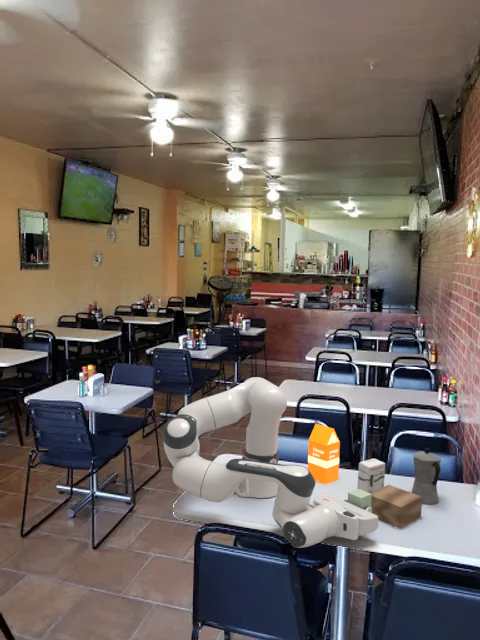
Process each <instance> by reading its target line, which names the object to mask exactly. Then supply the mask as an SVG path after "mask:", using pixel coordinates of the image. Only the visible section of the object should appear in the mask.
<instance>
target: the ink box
mask: <svg viewBox="0 0 480 640" xmlns="http://www.w3.org/2000/svg"><path fill="white" fill-rule="evenodd" d="M357 471H358V472H357V473H358V474H357V486H356V487H357V488H356V489H361V490H363V491H365V492H368V493H371V492H373V491H375V490H378V489H380V488H382V487H384V486H385V478H386V477H385V473H386V462H384V461H381V460H379V459H377V458H370V459H366V460H363V461H360V462H359V463H358V470H357Z"/></svg>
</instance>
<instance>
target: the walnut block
mask: <svg viewBox="0 0 480 640" xmlns="http://www.w3.org/2000/svg"><path fill="white" fill-rule="evenodd" d="M370 494H372V500H371V507H372V512H371V513H373V514H375V515H377V516H378V521H380V522H383V523H385V524H388V525H390V526H392V527H395V528H396V527H397V529H399V530H401V529H403V528H404V526H405V527H407V526H408V524H409V525H410V524H412V523H414V522H416V521H417V520H420V519H421V518H422V507H423V506H422V505H423V504H422V497H421V496H419V495H416V494H413V493H412V492H411V491H407V490H405V489H401V488H399V487H397V486H393V485H391V484H387V485H384V487H382V488H380V489H378V490H375V491H373V492H371V493H370Z"/></svg>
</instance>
